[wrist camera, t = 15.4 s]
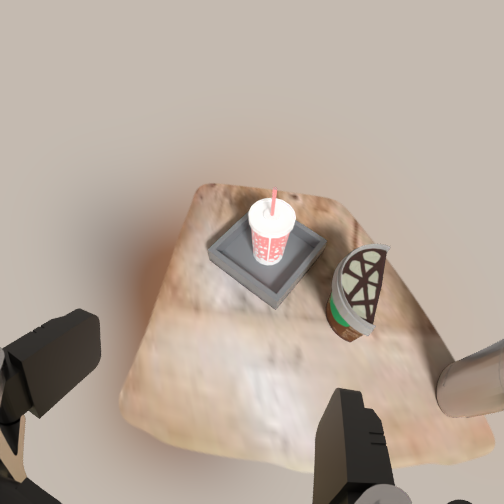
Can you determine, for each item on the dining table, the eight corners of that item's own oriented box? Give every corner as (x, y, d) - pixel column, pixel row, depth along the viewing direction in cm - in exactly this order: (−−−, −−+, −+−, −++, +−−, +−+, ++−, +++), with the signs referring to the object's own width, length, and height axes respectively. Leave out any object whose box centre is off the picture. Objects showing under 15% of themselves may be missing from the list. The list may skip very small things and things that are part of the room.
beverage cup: (289, 238, 47) (302, 173, 35) (286, 272, 44) (300, 211, 32) (250, 233, 48) (252, 168, 36) (245, 267, 45) (244, 205, 33)
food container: (330, 265, 46) (348, 227, 37) (366, 278, 44) (391, 243, 36) (306, 338, 40) (323, 313, 31) (347, 352, 38) (374, 331, 30)
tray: (323, 251, 47) (327, 240, 44) (275, 309, 42) (277, 301, 39) (261, 210, 51) (261, 199, 48) (209, 260, 46) (207, 249, 43)
